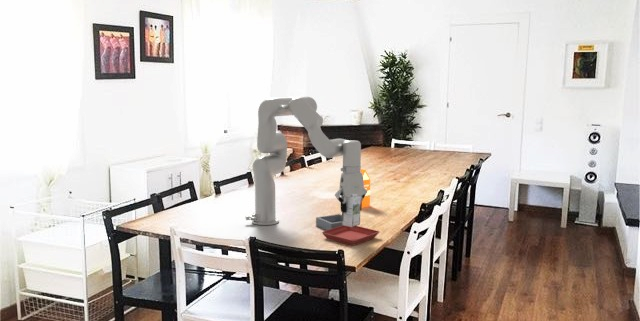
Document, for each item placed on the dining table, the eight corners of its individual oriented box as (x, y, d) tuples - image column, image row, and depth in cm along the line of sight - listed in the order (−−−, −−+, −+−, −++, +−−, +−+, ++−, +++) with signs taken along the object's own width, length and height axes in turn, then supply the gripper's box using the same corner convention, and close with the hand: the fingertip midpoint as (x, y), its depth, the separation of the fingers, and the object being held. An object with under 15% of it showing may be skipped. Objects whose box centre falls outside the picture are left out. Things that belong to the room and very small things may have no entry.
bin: (331, 232, 240) (331, 223, 240) (316, 225, 251) (316, 217, 251) (355, 228, 247) (355, 219, 247) (339, 222, 258) (339, 213, 258)
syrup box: (349, 222, 235) (349, 189, 233) (360, 224, 231) (361, 191, 229) (341, 225, 231) (341, 191, 229) (352, 227, 227) (353, 193, 225)
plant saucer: (353, 248, 219) (353, 240, 219) (320, 239, 232) (321, 231, 231) (380, 238, 233) (380, 231, 232) (347, 230, 245) (347, 223, 244)
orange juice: (357, 203, 299) (358, 167, 296) (370, 205, 292) (370, 169, 289) (348, 205, 293) (348, 168, 290) (360, 208, 287) (361, 170, 284)
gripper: (339, 172, 220) (339, 215, 223) (373, 169, 229) (372, 210, 232) (329, 170, 226) (329, 211, 229) (363, 166, 235) (362, 206, 238)
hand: (351, 210), depth 230 cm, fingers closed on syrup box, 7 cm apart
